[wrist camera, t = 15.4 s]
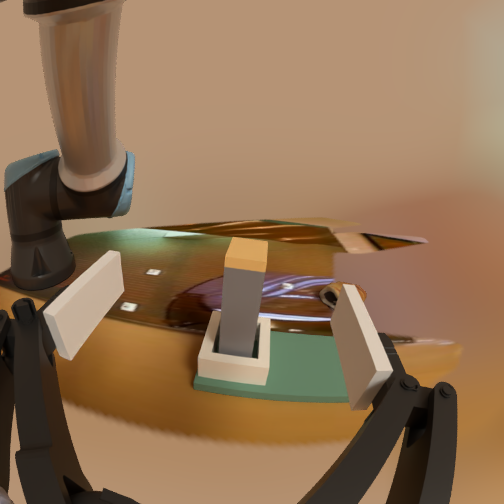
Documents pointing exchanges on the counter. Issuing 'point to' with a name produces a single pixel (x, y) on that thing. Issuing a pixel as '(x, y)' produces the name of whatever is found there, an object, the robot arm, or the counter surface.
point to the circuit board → (291, 372)
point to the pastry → (337, 293)
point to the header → (234, 365)
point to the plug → (242, 295)
